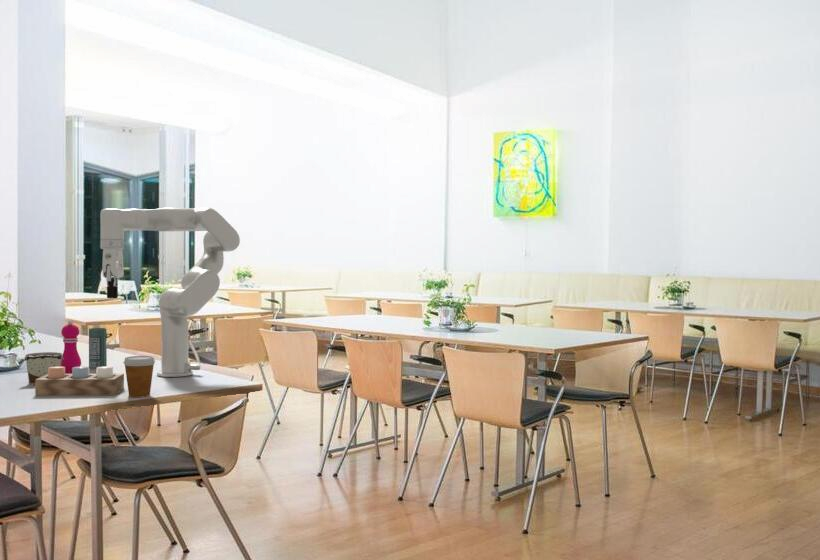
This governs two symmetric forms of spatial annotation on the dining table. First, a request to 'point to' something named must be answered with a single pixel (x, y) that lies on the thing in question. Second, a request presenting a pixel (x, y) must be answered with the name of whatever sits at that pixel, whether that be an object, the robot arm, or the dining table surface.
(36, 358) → the food container
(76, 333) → the pepper mill
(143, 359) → the disposable coffee cup
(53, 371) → the terracotta egg
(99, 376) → the white egg
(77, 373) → the slate egg
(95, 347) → the dark green cylinder
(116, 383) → the wooden egg rack
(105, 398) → the dining table surface
